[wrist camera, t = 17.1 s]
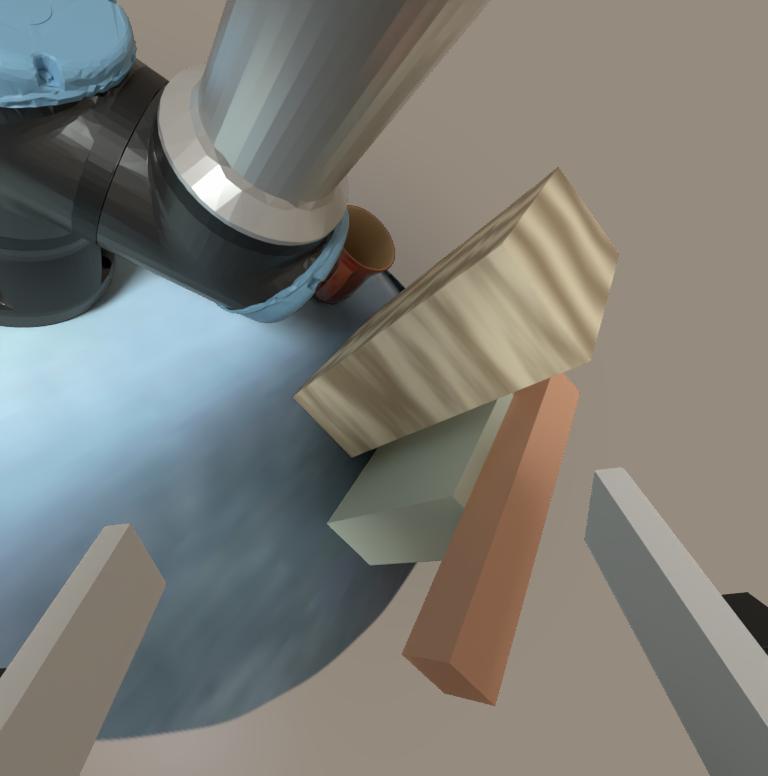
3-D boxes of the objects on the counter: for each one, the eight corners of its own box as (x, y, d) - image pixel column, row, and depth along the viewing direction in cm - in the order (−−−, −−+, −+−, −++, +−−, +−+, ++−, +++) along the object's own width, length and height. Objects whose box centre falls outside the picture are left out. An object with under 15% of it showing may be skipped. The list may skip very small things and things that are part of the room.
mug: (309, 242, 59) (349, 192, 52) (358, 284, 62) (403, 242, 55) (269, 297, 52) (309, 248, 45) (326, 341, 55) (373, 303, 48)
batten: (444, 693, 27) (495, 706, 24) (401, 654, 26) (448, 662, 23) (544, 405, 45) (580, 393, 42) (521, 377, 44) (556, 362, 41)
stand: (351, 457, 51) (590, 361, 30) (292, 396, 49) (501, 244, 28) (414, 369, 63) (619, 254, 41) (368, 317, 61) (558, 166, 39)
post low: (370, 565, 48) (508, 556, 34) (326, 523, 47) (452, 496, 33) (421, 472, 57) (546, 435, 43) (386, 435, 56) (504, 384, 42)
